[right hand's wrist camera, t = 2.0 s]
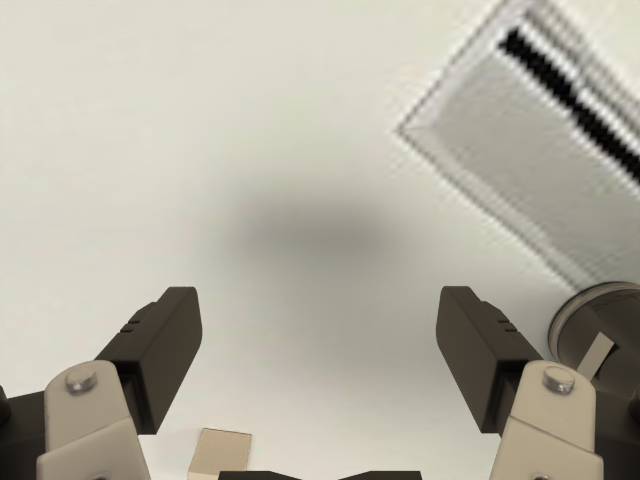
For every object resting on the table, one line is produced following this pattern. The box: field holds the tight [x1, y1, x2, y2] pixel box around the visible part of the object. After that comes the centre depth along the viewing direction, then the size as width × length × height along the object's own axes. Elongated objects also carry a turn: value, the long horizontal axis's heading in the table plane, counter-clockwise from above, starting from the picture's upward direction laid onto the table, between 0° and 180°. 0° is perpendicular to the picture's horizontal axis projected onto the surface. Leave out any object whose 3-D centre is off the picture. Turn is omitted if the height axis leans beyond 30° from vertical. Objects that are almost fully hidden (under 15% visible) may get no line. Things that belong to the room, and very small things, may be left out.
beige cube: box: [187, 429, 251, 480], centre depth 34 cm, size 5×5×5 cm
